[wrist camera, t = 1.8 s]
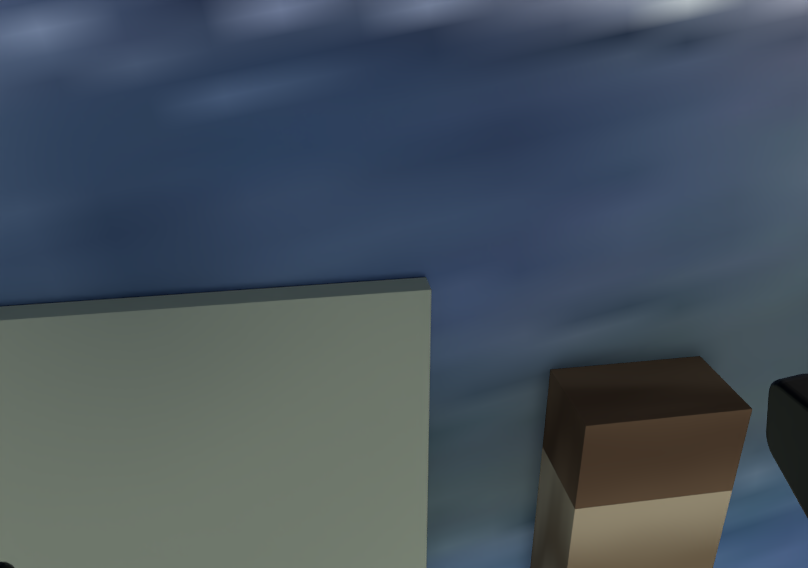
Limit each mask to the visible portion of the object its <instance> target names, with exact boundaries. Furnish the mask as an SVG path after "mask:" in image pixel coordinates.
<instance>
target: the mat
mask: <svg viewBox="0 0 808 568" xmlns="http://www.w3.org/2000/svg"><path fill="white" fill-rule="evenodd" d="M430 333H431V288H430V286H429V283H428V281H427V279H426V277H423V278H409V279H394V280H379V281H365V282H350V283H336V284H321V285H307V286H292V287H278V288H263V289H249V290H234V291H220V292H205V293H191V294H176V295H162V296H147V297H133V298H118V299H103V300H89V301H74V302H60V303H45V304H31V305H16V306H2V307H0V562H8V563H10V564H11V565H13V566H14V568H426V551H427V497H428V442H429V387H430Z"/></svg>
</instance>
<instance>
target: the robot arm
mask: <svg viewBox="0 0 808 568" xmlns="http://www.w3.org/2000/svg"><path fill="white" fill-rule="evenodd" d="M766 437H767V442H768V446H769V449H770V451H771V453H772V455H773V457H774V459H775V461H776V462H777V464H778V466H779V468H780V470H781V471H782V473H783V475H784V477H785V479H786V480H787V482H788V484H789V486H790V487H791V489H792V491H793V493H794V495H795V496H796V498H797V500H798V502H799V504H800V505H801V507H802V509H803V511H804V512H805V514H806V516H807V518H808V374H799V375H795V376H791V377H787V378H782V379H778V380H776V381H774V382H773V383H772V384H771V386H770V389H769V397H768V412H767V427H766ZM0 568H14V566H13V565H11V564H10V563H8V562H0Z"/></svg>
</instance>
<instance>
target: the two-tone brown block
mask: <svg viewBox="0 0 808 568" xmlns="http://www.w3.org/2000/svg"><path fill="white" fill-rule="evenodd" d="M751 412H752V408H751V407H750V406H749V405H748V404H747V403H746V402H745V401H744V400H743V399H742V398H741V397H740V396H739V395H738V394H737V393H736V392H735V391H734V390H733V389H732V388H731V387H730V386H729V385H728V384H727V383H726V382H725V381H724V380H723V379H722V378H721V377H720V376H719V375H718V374H717V373H716V372H715V371H714V370H713V369H712V368H711V367H710V366H709V365H708V364H707V363H706V362H705V361H704V360H703V359H702V358H701V357H700V356H697V357H686V358H675V359H663V360H652V361H641V362H630V363H618V364H607V365H596V366H585V367H573V368H562V369H551V370H550V379H549V389H548V399H547V409H546V419H545V428H544V438H543V448H542V458H541V468H540V478H539V487H538V497H537V507H536V517H535V527H534V537H533V547H532V556H531V566H530V568H713V565H714V561H715V557H716V553H717V549H718V545H719V541H720V537H721V533H722V529H723V525H724V521H725V517H726V513H727V509H728V505H729V501H730V497H731V493H732V489H733V485H734V481H735V476H736V472H737V468H738V464H739V460H740V456H741V452H742V448H743V444H744V440H745V436H746V432H747V428H748V424H749V420H750V416H751Z"/></svg>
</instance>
